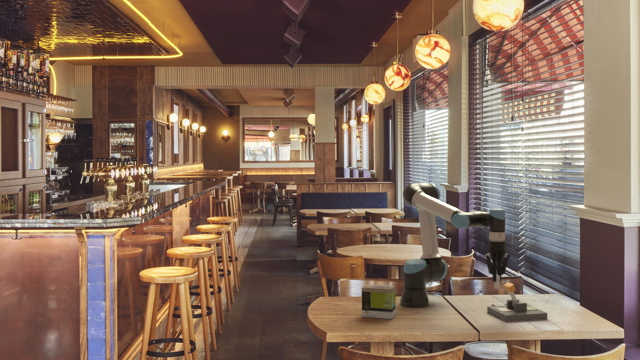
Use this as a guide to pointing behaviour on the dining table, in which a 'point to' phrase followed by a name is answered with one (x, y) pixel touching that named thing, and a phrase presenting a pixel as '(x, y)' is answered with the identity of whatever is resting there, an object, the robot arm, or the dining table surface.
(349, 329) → the dining table surface
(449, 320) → the dining table surface
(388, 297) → the tea box
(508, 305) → the breaker box
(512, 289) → the breaker lever
